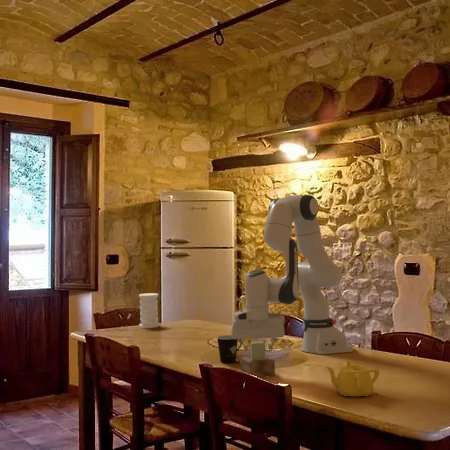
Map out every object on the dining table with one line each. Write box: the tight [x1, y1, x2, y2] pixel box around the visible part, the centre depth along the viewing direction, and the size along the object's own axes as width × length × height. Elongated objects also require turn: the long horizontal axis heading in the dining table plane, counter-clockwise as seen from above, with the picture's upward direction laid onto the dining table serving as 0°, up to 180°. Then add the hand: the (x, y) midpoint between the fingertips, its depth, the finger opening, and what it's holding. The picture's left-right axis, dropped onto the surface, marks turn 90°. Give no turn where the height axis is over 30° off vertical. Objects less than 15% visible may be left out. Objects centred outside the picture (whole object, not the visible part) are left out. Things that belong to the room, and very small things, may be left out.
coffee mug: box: [216, 334, 243, 364], centre depth 248 cm, size 12×9×10 cm
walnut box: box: [239, 355, 276, 378], centre depth 226 cm, size 10×10×6 cm
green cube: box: [249, 341, 266, 361], centre depth 227 cm, size 5×5×6 cm
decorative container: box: [138, 292, 161, 329], centre depth 336 cm, size 12×12×18 cm
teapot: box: [325, 358, 380, 397], centre depth 198 cm, size 14×13×10 cm
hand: (258, 349), depth 227 cm, fingers open, 8 cm apart
